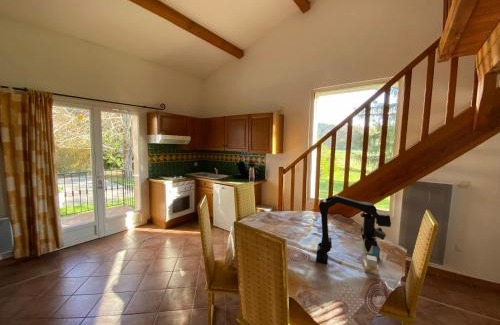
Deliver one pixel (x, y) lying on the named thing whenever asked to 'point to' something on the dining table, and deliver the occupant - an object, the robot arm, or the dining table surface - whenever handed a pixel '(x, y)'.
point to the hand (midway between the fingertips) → (367, 249)
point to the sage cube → (366, 250)
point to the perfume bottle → (375, 251)
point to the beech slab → (370, 268)
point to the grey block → (371, 261)
